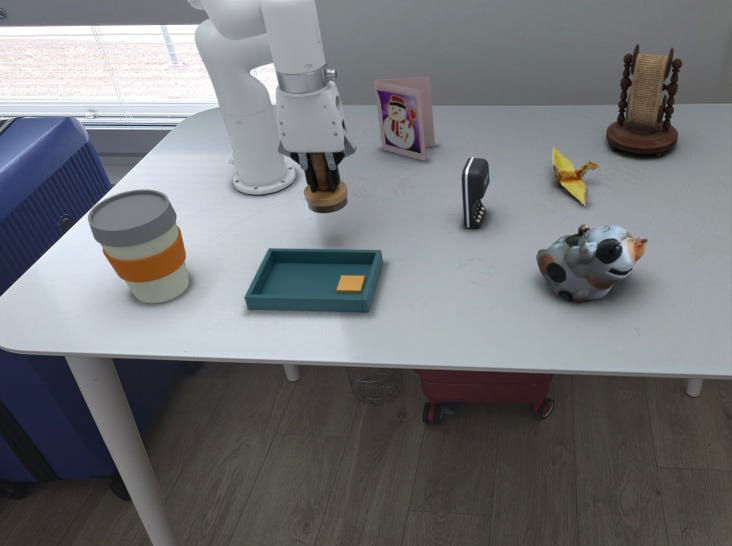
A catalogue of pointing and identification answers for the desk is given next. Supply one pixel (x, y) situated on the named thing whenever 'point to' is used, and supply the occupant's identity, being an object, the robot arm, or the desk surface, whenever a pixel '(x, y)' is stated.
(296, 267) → the tray
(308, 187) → the stamp
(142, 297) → the reusable coffee cup
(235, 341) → the desk surface
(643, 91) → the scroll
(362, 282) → the orange flat square block
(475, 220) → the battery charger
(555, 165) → the origami crane
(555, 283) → the lucky cat figurine
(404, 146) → the greeting card
